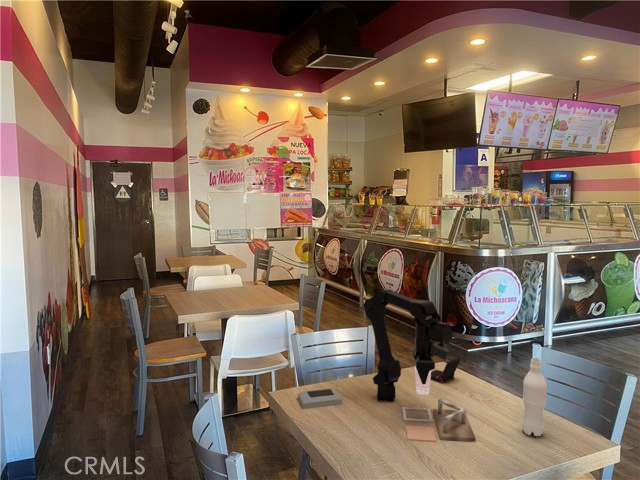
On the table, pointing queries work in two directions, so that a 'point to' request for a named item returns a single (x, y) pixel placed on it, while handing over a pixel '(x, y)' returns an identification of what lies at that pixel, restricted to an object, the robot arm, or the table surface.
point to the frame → (417, 419)
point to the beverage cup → (422, 388)
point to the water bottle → (534, 399)
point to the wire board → (453, 423)
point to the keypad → (319, 398)
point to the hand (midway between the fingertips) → (422, 379)
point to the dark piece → (445, 372)
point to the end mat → (420, 433)
